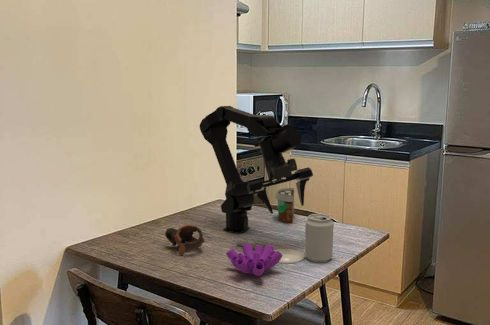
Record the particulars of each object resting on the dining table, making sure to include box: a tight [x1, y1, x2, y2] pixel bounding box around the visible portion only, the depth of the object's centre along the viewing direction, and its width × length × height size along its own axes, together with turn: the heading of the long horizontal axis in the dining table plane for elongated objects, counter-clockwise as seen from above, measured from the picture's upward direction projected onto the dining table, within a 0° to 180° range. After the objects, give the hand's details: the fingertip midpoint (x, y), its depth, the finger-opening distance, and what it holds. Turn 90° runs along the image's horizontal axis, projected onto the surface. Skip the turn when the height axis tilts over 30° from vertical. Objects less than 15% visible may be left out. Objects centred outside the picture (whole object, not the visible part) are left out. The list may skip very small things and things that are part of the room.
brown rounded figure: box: [164, 224, 206, 256], centre depth 141 cm, size 12×10×8 cm
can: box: [304, 213, 334, 263], centre depth 134 cm, size 8×8×12 cm
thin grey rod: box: [236, 241, 265, 251], centre depth 142 cm, size 11×1×1 cm, turn 56°
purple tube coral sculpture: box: [225, 243, 283, 277], centre depth 126 cm, size 11×15×10 cm
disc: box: [274, 248, 305, 265], centre depth 136 cm, size 10×10×1 cm
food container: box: [275, 187, 295, 225], centre depth 171 cm, size 12×6×10 cm, turn 172°
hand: (287, 209), depth 141 cm, fingers open, 9 cm apart
